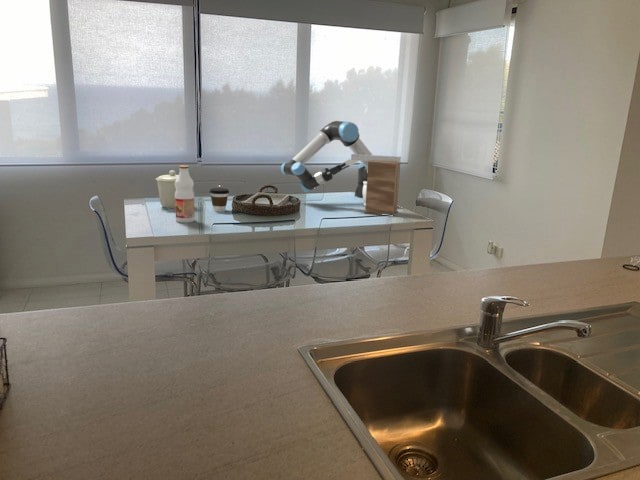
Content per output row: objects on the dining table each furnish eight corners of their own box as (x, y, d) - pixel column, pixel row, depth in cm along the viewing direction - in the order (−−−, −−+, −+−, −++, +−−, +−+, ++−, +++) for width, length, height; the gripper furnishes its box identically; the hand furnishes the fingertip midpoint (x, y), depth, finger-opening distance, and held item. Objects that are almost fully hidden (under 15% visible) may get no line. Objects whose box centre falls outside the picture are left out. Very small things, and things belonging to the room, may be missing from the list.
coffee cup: (205, 210, 297) (205, 189, 294) (217, 208, 306) (217, 187, 303) (221, 213, 292) (221, 191, 289) (233, 210, 302) (233, 189, 299)
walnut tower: (369, 209, 319) (373, 159, 312) (397, 212, 314) (401, 161, 307) (364, 213, 308) (367, 161, 300) (392, 216, 302) (396, 163, 295)
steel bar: (351, 159, 308) (351, 154, 307) (400, 161, 305) (400, 156, 304) (351, 160, 304) (351, 154, 304) (400, 162, 301) (400, 157, 301)
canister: (194, 205, 311) (193, 169, 306) (183, 211, 294) (182, 173, 289) (164, 203, 313) (162, 167, 308) (151, 209, 296) (150, 171, 290)
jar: (376, 207, 326) (377, 183, 323) (359, 206, 330) (361, 182, 326) (379, 205, 336) (381, 181, 332) (364, 203, 339) (365, 180, 336)
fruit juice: (193, 223, 266) (192, 167, 259) (174, 222, 265) (172, 166, 258) (195, 219, 275) (194, 165, 268) (177, 218, 274) (175, 164, 268)
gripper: (333, 179, 329) (363, 164, 320) (319, 184, 306) (350, 168, 298) (328, 168, 329) (357, 152, 320) (313, 172, 306) (344, 156, 297)
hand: (354, 160), depth 309 cm, fingers open, 13 cm apart
